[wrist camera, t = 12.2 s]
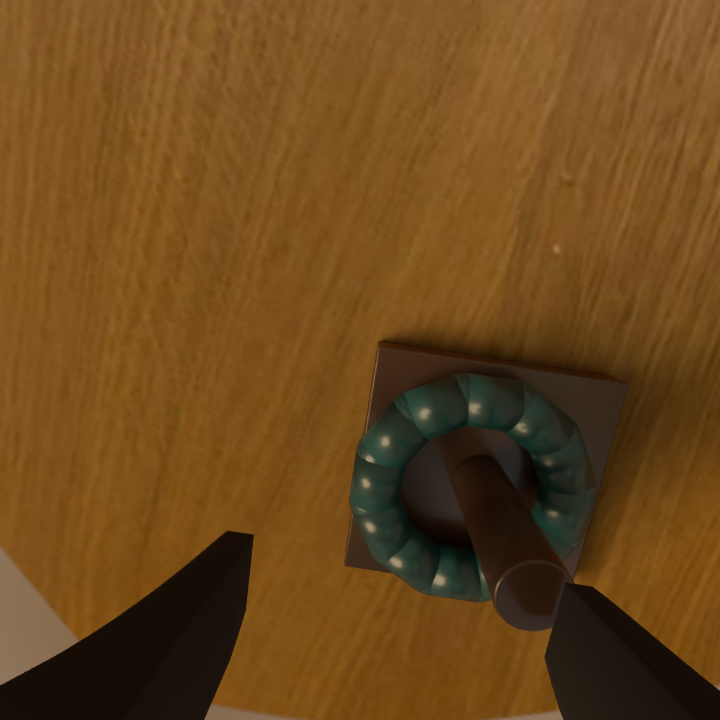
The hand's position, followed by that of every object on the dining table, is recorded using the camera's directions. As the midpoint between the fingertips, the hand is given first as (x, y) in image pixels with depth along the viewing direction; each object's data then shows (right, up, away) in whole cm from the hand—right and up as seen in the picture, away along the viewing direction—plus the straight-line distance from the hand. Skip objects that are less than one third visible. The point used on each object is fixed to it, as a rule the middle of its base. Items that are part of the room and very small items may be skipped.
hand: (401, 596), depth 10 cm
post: (+4, +1, +8) cm, 8 cm away
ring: (+3, +1, +6) cm, 6 cm away
